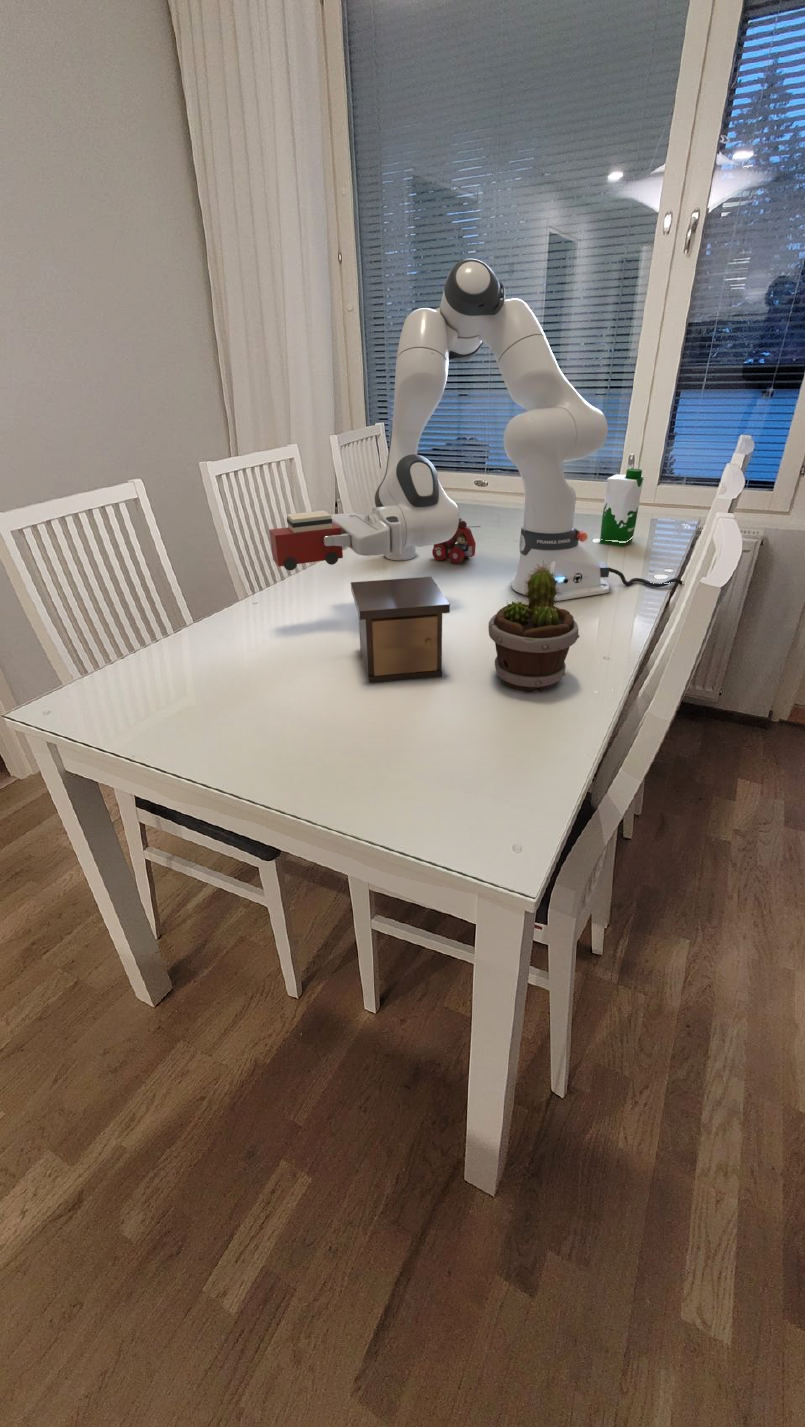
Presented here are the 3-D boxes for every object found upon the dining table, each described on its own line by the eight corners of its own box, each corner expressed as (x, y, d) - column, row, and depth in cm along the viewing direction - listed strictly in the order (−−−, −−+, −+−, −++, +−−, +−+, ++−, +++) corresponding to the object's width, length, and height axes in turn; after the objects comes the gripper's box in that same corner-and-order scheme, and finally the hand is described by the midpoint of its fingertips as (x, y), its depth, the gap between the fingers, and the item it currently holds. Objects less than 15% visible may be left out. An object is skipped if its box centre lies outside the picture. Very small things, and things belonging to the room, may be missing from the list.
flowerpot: (555, 707, 103) (570, 586, 93) (470, 685, 110) (474, 571, 100) (585, 672, 113) (600, 561, 103) (505, 654, 120) (512, 548, 110)
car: (335, 556, 132) (332, 509, 127) (343, 563, 128) (340, 514, 123) (273, 564, 128) (267, 516, 123) (279, 572, 124) (273, 522, 119)
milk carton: (626, 547, 181) (637, 473, 171) (595, 543, 186) (604, 470, 176) (636, 540, 187) (648, 468, 177) (606, 536, 192) (616, 465, 182)
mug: (420, 553, 179) (420, 513, 174) (407, 561, 173) (407, 520, 167) (382, 549, 184) (380, 510, 178) (368, 557, 177) (366, 516, 172)
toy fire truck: (467, 565, 169) (469, 525, 164) (426, 559, 175) (427, 520, 170) (479, 559, 174) (481, 520, 169) (439, 552, 180) (439, 514, 175)
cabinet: (430, 643, 125) (431, 576, 119) (449, 679, 112) (450, 605, 105) (354, 650, 123) (350, 582, 117) (363, 687, 110) (359, 612, 103)
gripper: (366, 503, 137) (303, 509, 133) (403, 524, 121) (333, 533, 117) (367, 532, 141) (306, 540, 136) (403, 557, 124) (335, 567, 120)
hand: (319, 537), depth 126 cm, fingers closed on car, 5 cm apart
